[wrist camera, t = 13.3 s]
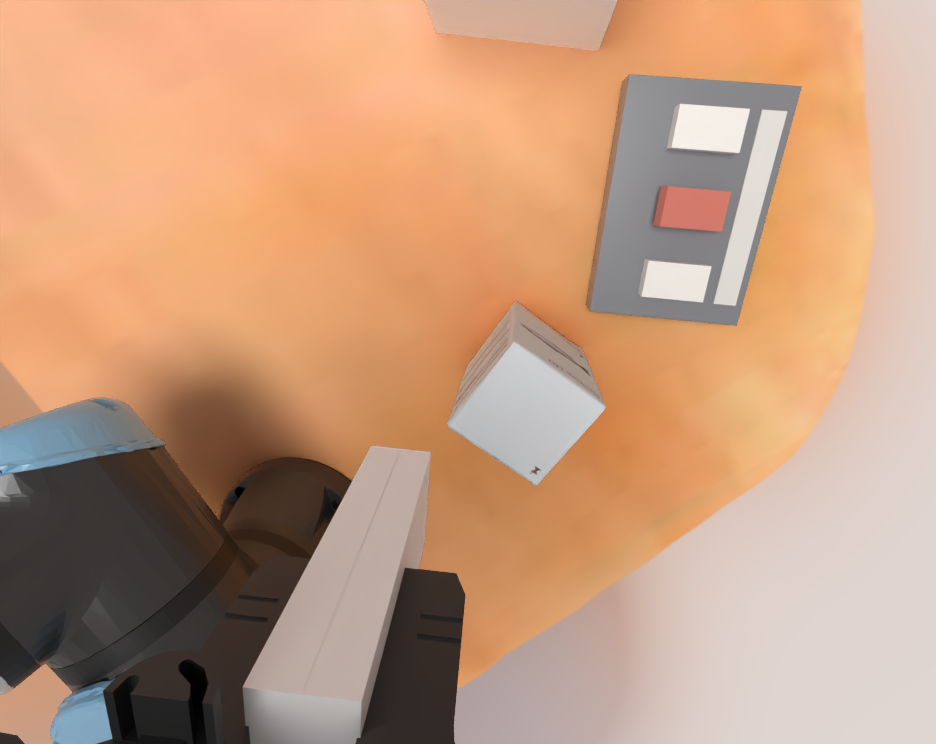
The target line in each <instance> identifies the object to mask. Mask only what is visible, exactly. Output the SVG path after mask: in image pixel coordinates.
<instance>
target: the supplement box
mask: <svg viewBox="0 0 936 744" xmlns="http://www.w3.org/2000/svg"><path fill="white" fill-rule="evenodd" d="M605 408H606V406H605V404H604V401H603V399H602V396H601V394H600V391H599V389H598V386H597V384H596V381H595V379H594V376H593V374H592V371H591V369H590V366H589V364H588V361H587V358H586V356H585V354H584V351H583V349H581V348H580V347H578V346H577V345H575V344H574V343H572V342H571V341H569V340H568V339H566V338H565V337H563V336H562V335H560V334H559V333H558V332H556V331H555V330H553V329H552V328H551V327H549V326H548V325H547V324H545V323H544V322H543V321H541V320H540V319H539V318H537V317H536V316H535V315H533V314H532V313H531V312H529V311H528V310H527V309H525V308H524V307H523V306H522V305H520V304H519V303H518V302H516V301H515V302H514V303H513V305H512V306H511V308H510V309H509V310H508V312H507V313H506V314H505V316H504V317H503V318H502V320H501V321H500V322H499V324H498V325H497V326H496V328H495V329H494V330H493V332H492V333H491V334H490V336H489V337H488V338H487V340H486V341H485V342H484V344H483V345H482V346H481V348H480V349H479V350H478V352H477V353H476V354H475V356H474V357H473V358H472V360H471V361H470V363H469V364H468V366H467V368H466V371H465V373H464V376H463V379H462V382H461V385H460V388H459V391H458V394H457V397H456V400H455V403H454V406H453V409H452V412H451V415H450V417H449V419H448V421H447V426H448V427H449V428H450V429H452V430H453V431H455V432H456V433H458V434H459V435H461V436H462V437H464V438H465V439H467V440H468V441H470V442H471V443H473V444H474V445H476V446H477V447H479V448H480V449H482V450H483V451H485V452H486V453H488V454H489V455H490V456H492V457H493V458H494V459H496V460H498V461H499V462H501V463H502V464H504V465H505V466H507V467H508V468H510V469H511V470H513V471H514V472H516V473H517V474H519V475H520V476H522V477H523V478H525V479H526V480H528V481H529V482H530V483H532V484H533V485H535V486H538V484H539V483H540V482H541V481H542V480H543V479H544V477H545V476H546V475H547V474H548V473H549V472H550V470H551V469H552V468H553V467H554V466H555V465H556V463H557V462H558V461H559V460H560V459H561V458H562V457H563V456H564V454H565V453H566V452H567V451H568V450H569V449H570V448H571V447H572V446H573V444H574V443H575V442H576V441H577V440H578V439H579V438H580V437H581V436H582V434H583V433H584V432H585V431H586V430H587V429H588V428H589V427H590V426H591V424H592V423H593V422H594V421H595V420H596V419H597V418H598V417H599V416H600V414H601V413H602V412H603V411H604V410H605Z"/></svg>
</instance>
